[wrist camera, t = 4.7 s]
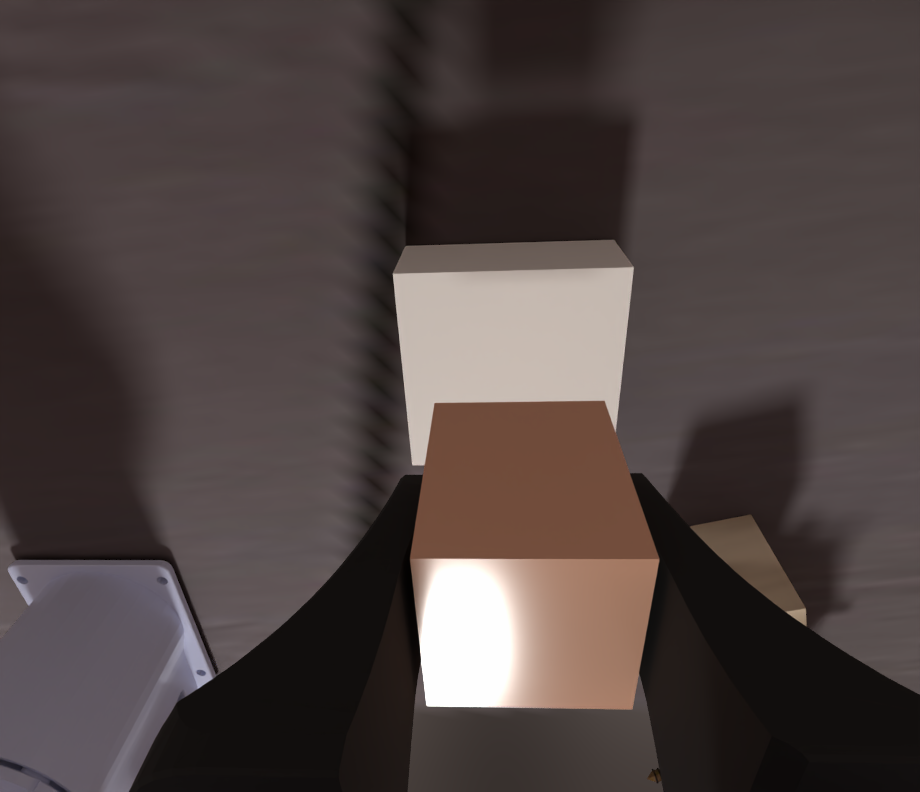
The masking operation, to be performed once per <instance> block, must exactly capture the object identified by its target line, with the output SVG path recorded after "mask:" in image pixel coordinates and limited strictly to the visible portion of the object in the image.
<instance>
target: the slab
mask: <svg viewBox="0 0 920 792" xmlns="http://www.w3.org/2000/svg"><path fill="white" fill-rule="evenodd" d="M633 270H634V267H633V265H632V264H631V263H630V261H629V260H628V258H627V257H626V256H625V254H624V253H623V251H622V250H621V249H620V247H619V246H618V244H617V243H616V242H615V240H587V241H553V242H520V243H487V244H453V245H420V246H405V248H404V250H403V253H402V255H401V257H400V259H399V261H398V264H397V266H396V268H395V270H394V272H393V280H394V290H395V299H396V309H397V319H398V329H399V339H400V348H401V358H402V368H403V378H404V388H405V397H406V407H407V417H408V427H409V436H410V446H411V456H412V465H425V460H426V454H427V447H428V441H429V435H430V428H431V422H432V415H433V409H434V403H466V402H542V401H605V403H606V406H607V409H608V412H609V415H610V418H611V421H612V424H613V426H614V429H615V432H616V423H617V414H618V405H619V396H620V387H621V378H622V369H623V360H624V351H625V342H626V333H627V324H628V315H629V306H630V297H631V288H632V279H633Z"/></svg>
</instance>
